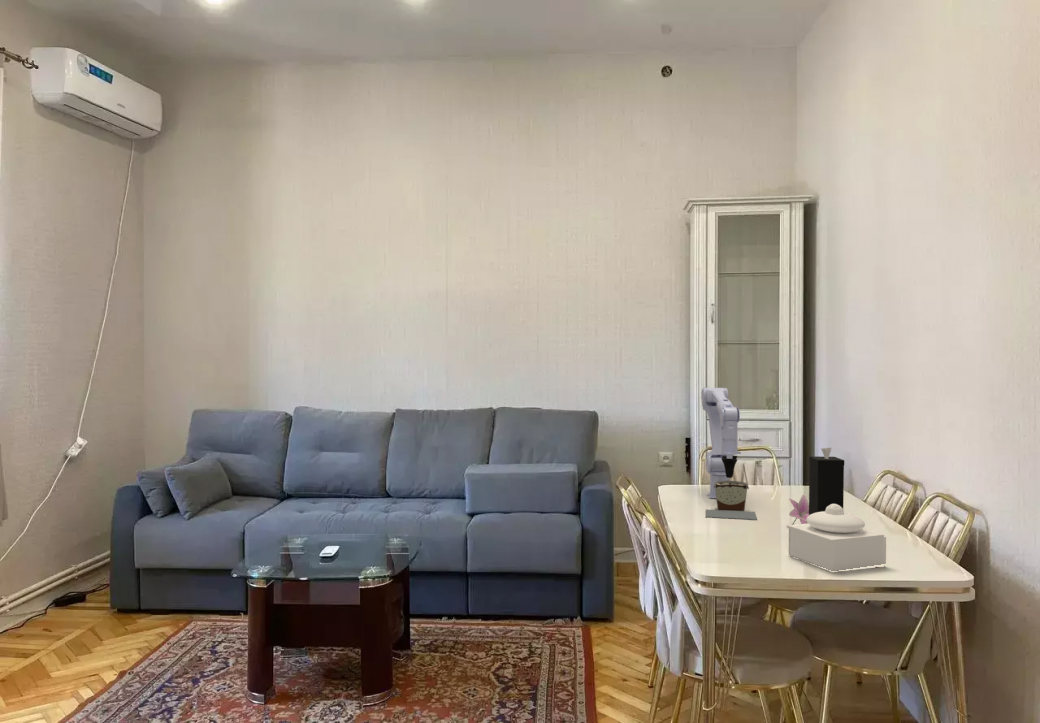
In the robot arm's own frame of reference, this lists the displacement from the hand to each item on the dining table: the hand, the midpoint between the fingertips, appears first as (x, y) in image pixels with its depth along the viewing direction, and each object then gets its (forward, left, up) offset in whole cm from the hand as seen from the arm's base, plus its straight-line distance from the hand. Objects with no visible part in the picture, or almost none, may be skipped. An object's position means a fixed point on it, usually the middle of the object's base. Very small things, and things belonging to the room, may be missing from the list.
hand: (729, 476), depth 286 cm
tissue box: (+45, +27, -11) cm, 54 cm away
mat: (+17, 0, -11) cm, 21 cm away
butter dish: (+71, +25, -11) cm, 76 cm away
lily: (+30, +22, -11) cm, 39 cm away
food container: (+7, 0, -11) cm, 13 cm away
